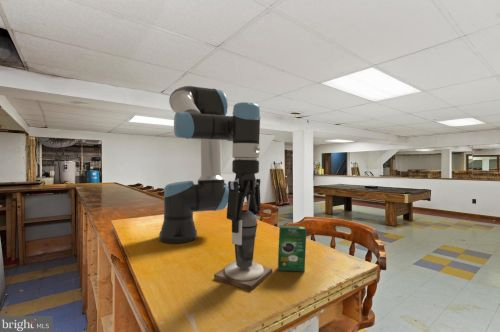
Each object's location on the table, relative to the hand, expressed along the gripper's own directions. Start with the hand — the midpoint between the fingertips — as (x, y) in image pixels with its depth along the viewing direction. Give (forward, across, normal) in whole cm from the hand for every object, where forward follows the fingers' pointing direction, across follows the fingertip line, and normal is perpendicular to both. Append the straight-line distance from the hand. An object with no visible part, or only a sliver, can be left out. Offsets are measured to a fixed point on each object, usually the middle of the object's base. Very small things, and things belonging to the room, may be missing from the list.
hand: (244, 239), depth 71 cm
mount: (+10, 0, 0) cm, 10 cm away
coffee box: (+10, +11, -10) cm, 18 cm away
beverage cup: (+7, 0, 0) cm, 7 cm away
